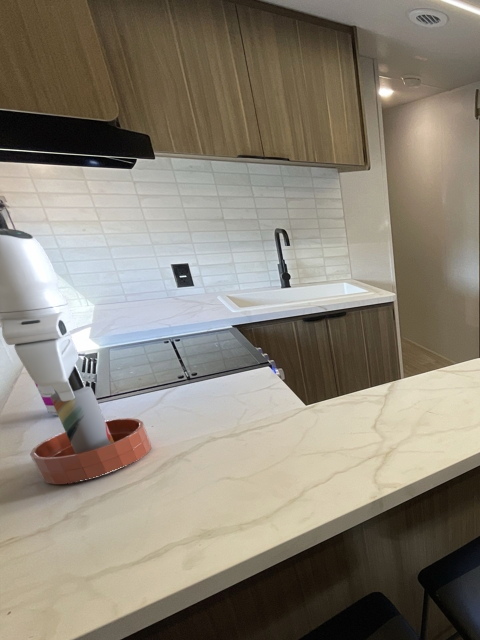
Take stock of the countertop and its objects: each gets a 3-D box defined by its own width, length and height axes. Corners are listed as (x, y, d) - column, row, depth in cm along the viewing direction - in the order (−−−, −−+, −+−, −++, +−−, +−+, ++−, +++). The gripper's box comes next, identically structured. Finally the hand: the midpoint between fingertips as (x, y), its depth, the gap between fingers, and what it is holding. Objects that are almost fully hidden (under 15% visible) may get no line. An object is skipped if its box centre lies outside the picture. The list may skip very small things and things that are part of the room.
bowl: (37, 498, 71) (21, 469, 69) (51, 461, 83) (38, 435, 81) (153, 463, 81) (142, 437, 79) (151, 434, 93) (142, 411, 91)
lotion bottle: (114, 449, 86) (78, 361, 79) (122, 457, 83) (85, 366, 76) (78, 461, 81) (35, 369, 74) (84, 470, 78) (41, 375, 71)
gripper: (26, 317, 77) (56, 383, 82) (-1, 337, 63) (37, 416, 68) (71, 312, 81) (97, 376, 86) (56, 329, 66) (89, 405, 71)
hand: (71, 394), depth 77 cm, fingers closed on lotion bottle, 5 cm apart
